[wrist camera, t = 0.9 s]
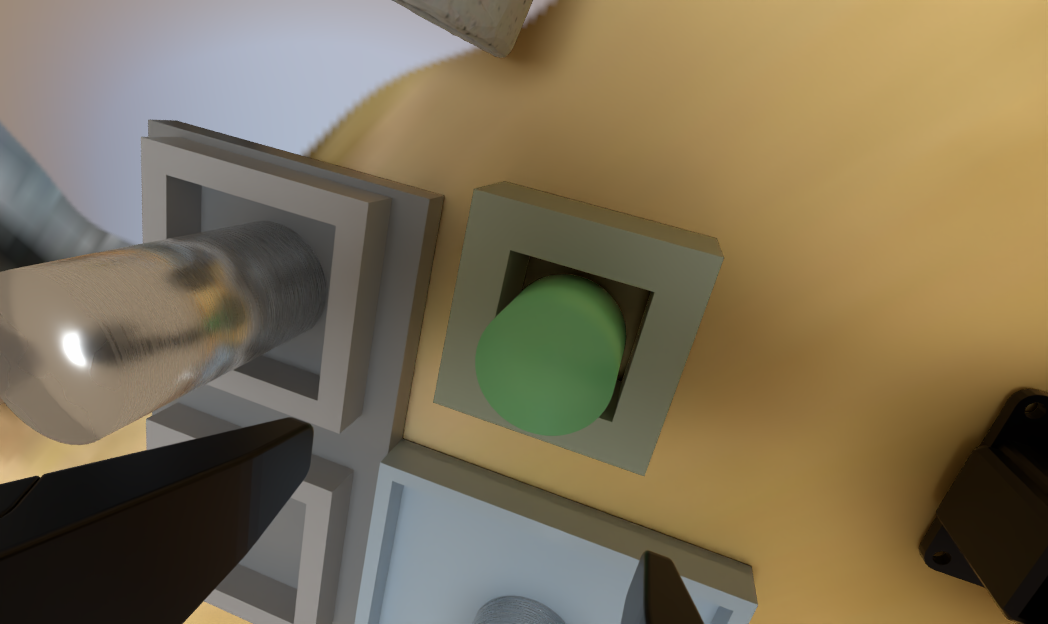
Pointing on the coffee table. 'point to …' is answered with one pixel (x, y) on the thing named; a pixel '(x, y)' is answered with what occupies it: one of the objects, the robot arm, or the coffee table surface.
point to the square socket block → (598, 248)
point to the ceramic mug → (476, 20)
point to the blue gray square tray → (515, 550)
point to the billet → (516, 612)
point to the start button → (552, 355)
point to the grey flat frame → (304, 351)
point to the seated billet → (148, 324)
